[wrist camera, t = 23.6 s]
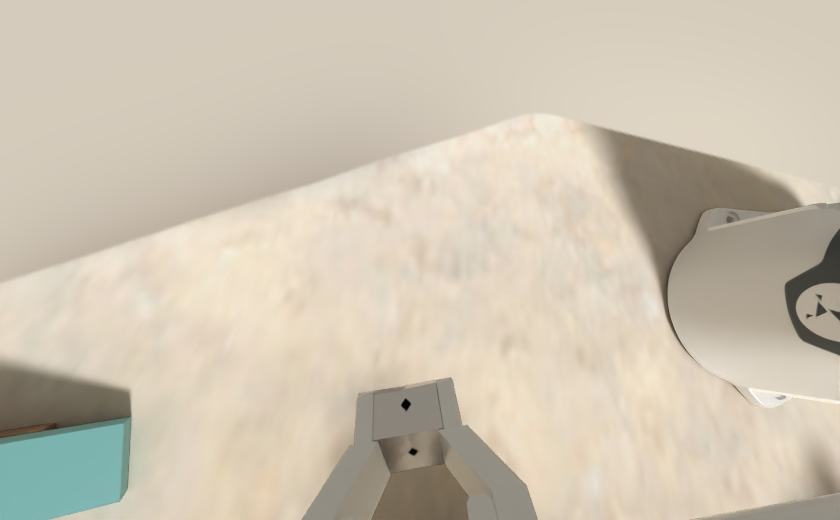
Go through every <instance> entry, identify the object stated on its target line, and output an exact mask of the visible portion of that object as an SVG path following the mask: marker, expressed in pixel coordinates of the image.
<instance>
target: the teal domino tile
mask: <svg viewBox="0 0 840 520" xmlns="http://www.w3.org/2000/svg"><path fill="white" fill-rule="evenodd" d="M130 430H131V417H126V418H120V419H114V420H108V421H102V422H96V423H90V424H84V425H78V426H71V427H65V428H59V429H53V430H47V431H41V432H35V433H29V434H23V435H17V436H11V437H4V438H0V520H49V519H53V518H57V517H61V516H65V515H69V514H73V513H77V512H81V511H85V510H88V509H92V508H96V507H100V506H104V505H108V504H112V503H116V502H120V500H121V499H122V497H123V496H124V494H125V492H126V491H127V488H128V469H129V449H130Z"/></svg>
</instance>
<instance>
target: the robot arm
mask: <svg viewBox="0 0 840 520" xmlns="http://www.w3.org/2000/svg"><path fill="white" fill-rule="evenodd" d="M668 307H669V312H670V317H671V320H672V323H673V326H674V329H675V331H676V333H677V335H678V337H679V339H680V341H681V343H682V344H683V346H684V347H685V349H686V350H687V351H688V352H689V354H690V355H691V356H692V357H693V358H694V359H695V360H696V361H697V362H698V363H699V364H700V365H701V366H703V367H704V368H705V369H707V370H708V371H710V372H711V373H713V374H715V375H717V376H719V377H721V378H723V379H725V380H727V381H728V382H730V383H732V384H733V385H734V386H735V387H736V388H737V389H738V390H739V391H740V392H741V394H742V395H743V396H744V397H745V398H746V399H747V400H748V401H749V402H750V403H752V404H753V405H755V406H759V407H766V408H773V407H776V406H778V405H780V404H782V403H784V402H786V401H788V400H790V399H792V398H794V397H797V398H804V399H810V400H817V401H824V402H830V403H837V404H840V203H834V204H826V203H819V204H812V205H808V206H803V207H798V208H794V209H789V210H785V211H780V212H776V213H769V212H759V211H749V210H738V209H728V208H715V209H710V210H706V211H705V212H704V213H703V214H702V215H701V217H700V220H699V223H698V226H697V229H696V233H695V235H694V237H693V238H692V240H691V241H690V242H689V243H688V244H687V245H686V246H685V247H684V248H683V249H682V251H681V252H680V253H679V255H678V256H677V258H676V260H675V262H674V264H673V267H672V269H671V273H670V276H669V281H668ZM436 385H437V386H436ZM439 464H445V465H446V467H447V468H448V469H449V471H450V472H451V473H452V475H453V476H454V477H455V479H456V480H457V481H458V483H459V484H460V485H461V487H462V488H463V489H464V491H465V492H466V493H467V495H468V496H469V499H468V501H467V503H466V505H467V512H468V519H469V520H538V518H537V515H536V512H535V509H534V506H533V503H532V500H531V497H530V494H529V491H528V488H527V485H526V484H525V483H524V482H523V481H522V480H521V479H520V478H519V477H518V476H517V475H516V474H515V473H514V472H513V471H512V470H511V469H510V468H509V467H508V466H507V465H506V464H505V463H504V462H503V461H502V460H501V459H500V458H499V457H498V456H497V455H496V454H495V453H494V452H493V451H492V450H491V449H490V448H489V447H488V446H487V445H486V444H485V443H484V442H483V440H482V439H481V438H480V437H479V436H478V435H477V434H476V433H475V432H474V431H473V430H472V429H471V428H470V427H469V426H468V425H462V421H461V417H460V412H459V408H458V403H457V398H456V394H455V389H454V384H453V380H452V378H451V377H449V378H444V379H439V380H431V381H426V382H421V383H415V384H410V385H405V386H403V387H396V388H389V389H383V390H376V391H370V392H364V393H359V394H358V397H357V406H356V421H355V436H354V445H350V446H349V447H348V448H347V450H346V451H345V453H344V455H343V456H342V458H341V459H340V461H339V462H338V464H337V466H336V467H335V469H334V470H333V472H332V473H331V475H330V476H329V478H328V480H327V481H326V483H325V484H324V486H323V487H322V489H321V490H320V492H319V494H318V495H317V497H316V498H315V500H314V501H313V503H312V505H311V506H310V508H309V509H308V511H307V512H306V514H305V515H304V517H303V519H302V520H371V519H372V517H373V515H374V512H375V510H376V508H377V505H378V503H379V501H380V499H381V496H382V494H383V492H384V490H385V487H386V485H387V483H388V480H389V478H390V476H391V475H390V473H395V472H400V471H404V470H409V469H414V468H419V467H426V466H433V465H439ZM691 520H840V493H835V494H829V495H824V496H818V497H813V498H807V499H802V500H796V501H791V502H785V503H779V504H774V505H768V506H763V507H757V508H752V509H746V510H741V511H735V512H729V513H724V514H718V515H713V516H707V517H702V518H696V519H691Z"/></svg>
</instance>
